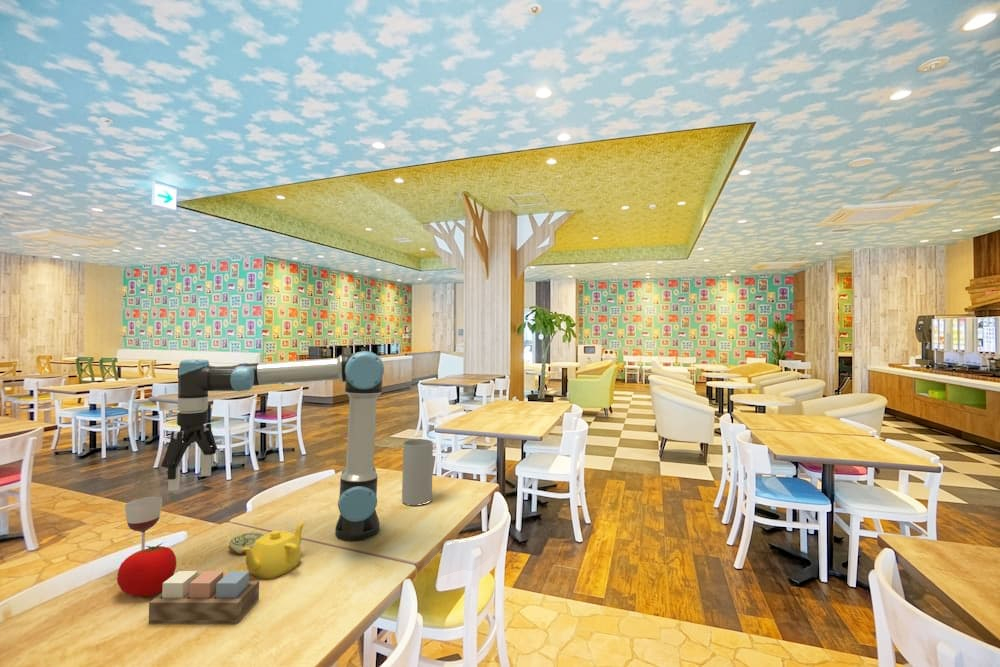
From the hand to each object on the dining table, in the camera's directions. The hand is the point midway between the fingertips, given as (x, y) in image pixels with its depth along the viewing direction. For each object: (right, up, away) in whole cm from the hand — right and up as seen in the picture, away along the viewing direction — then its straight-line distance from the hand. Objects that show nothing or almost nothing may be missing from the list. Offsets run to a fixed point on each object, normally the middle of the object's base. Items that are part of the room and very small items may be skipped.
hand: (190, 482), depth 134 cm
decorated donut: (+10, -26, +12) cm, 30 cm away
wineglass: (-13, -25, -2) cm, 28 cm away
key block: (+19, -25, -21) cm, 38 cm away
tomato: (-3, -25, -13) cm, 28 cm away
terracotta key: (+19, -22, -21) cm, 36 cm away
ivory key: (+12, -22, -21) cm, 33 cm away
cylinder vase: (+57, -27, +57) cm, 85 cm away
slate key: (+25, -22, -21) cm, 39 cm away
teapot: (+26, -26, 0) cm, 37 cm away
